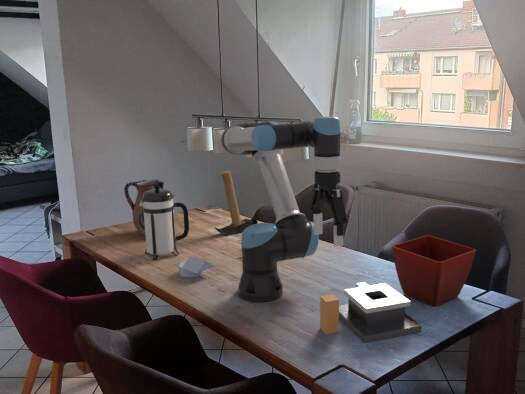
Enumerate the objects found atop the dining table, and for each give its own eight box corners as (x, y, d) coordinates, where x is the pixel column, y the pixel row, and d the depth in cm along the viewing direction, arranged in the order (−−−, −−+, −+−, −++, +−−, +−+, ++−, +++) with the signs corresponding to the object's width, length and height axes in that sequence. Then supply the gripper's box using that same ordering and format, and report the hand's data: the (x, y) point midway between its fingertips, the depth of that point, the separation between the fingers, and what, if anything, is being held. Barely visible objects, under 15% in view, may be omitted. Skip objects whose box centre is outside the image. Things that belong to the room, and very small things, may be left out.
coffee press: (171, 262, 209) (166, 189, 202) (136, 258, 215) (130, 187, 207) (190, 248, 225) (186, 180, 218) (157, 245, 230) (152, 178, 223)
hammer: (221, 241, 241) (207, 180, 231) (216, 238, 245) (202, 178, 235) (258, 226, 250) (246, 166, 240) (253, 224, 254) (241, 165, 244)
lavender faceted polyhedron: (215, 274, 196) (192, 266, 205) (214, 257, 195) (191, 250, 203) (197, 282, 190) (174, 273, 198) (196, 264, 188) (173, 256, 197)
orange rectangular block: (325, 334, 150) (325, 301, 148) (320, 328, 154) (320, 296, 151) (338, 332, 151) (338, 299, 149) (332, 325, 155) (332, 294, 152)
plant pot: (474, 297, 171) (477, 248, 167) (437, 314, 160) (440, 262, 156) (425, 280, 186) (428, 234, 182) (388, 294, 176) (390, 246, 172)
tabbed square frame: (364, 342, 145) (365, 314, 143) (333, 312, 163) (333, 286, 161) (421, 331, 150) (422, 304, 148) (385, 303, 168) (385, 278, 166)
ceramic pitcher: (169, 238, 240) (165, 185, 234) (122, 240, 239) (118, 186, 233) (174, 227, 257) (171, 177, 251) (131, 228, 256) (127, 178, 250)
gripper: (360, 175, 144) (359, 249, 148) (320, 163, 167) (321, 228, 171) (335, 177, 141) (336, 253, 146) (298, 165, 164) (299, 231, 169)
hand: (327, 239), depth 159 cm, fingers open, 13 cm apart
